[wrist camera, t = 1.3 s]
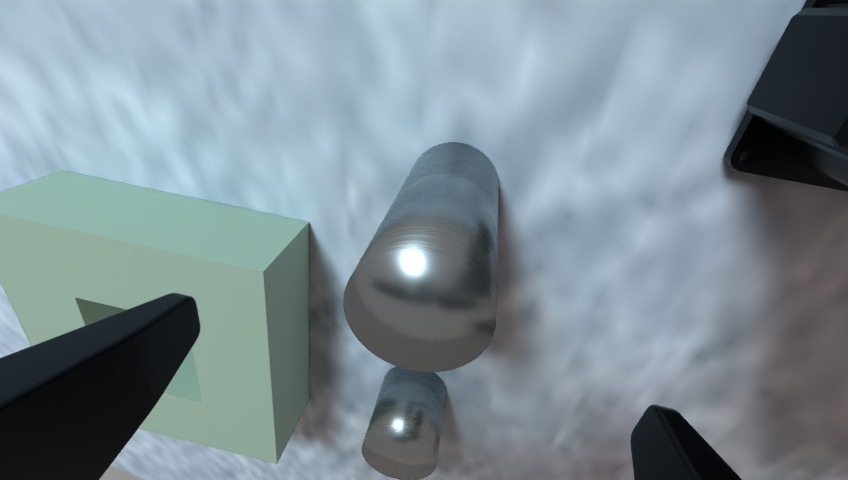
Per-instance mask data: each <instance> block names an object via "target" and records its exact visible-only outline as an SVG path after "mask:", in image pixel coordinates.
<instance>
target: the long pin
mask: <svg viewBox="0 0 848 480" xmlns="http://www.w3.org/2000/svg"><path fill="white" fill-rule="evenodd" d="M498 191H499V183H498V176H497V172H496V170H495V167H494V166H493V164H492V162H491V161H490V160H489V158H488V157H487V156H486V155H485V154H484V153H482V152H481V151H480V150H478V149H476V148H475V147H472V146H470V145H467V144H463V143H457V142H450V143H443V144H439V145H437V146H434V147H432V148H430V149H429V150H427V151H426V152H425V153H423V154H422V155H421V157H420V158H419V159H418V160H417V162H416V163H415V165H414V167H413V169H412V170H411V172H410V174H409V176H408V177H407V179H406V181H405V183H404V184H403V186H402V188H401V190H400V191H399V193H398V195H397V197H396V198H395V200H394V202H393V204H392V205H391V207H390V209H389V211H388V212H387V214H386V216H385V218H384V220H383V221H382V223H381V225H380V227H379V228H378V230H377V232H376V234H375V235H374V237H373V239H372V241H371V242H370V244H369V246H368V248H367V249H366V251H365V253H364V255H363V256H362V258H361V260H360V262H359V263H358V265H357V267H356V269H355V270H354V272H353V274H352V276H351V277H350V279H349V281H348V283H347V286H346V289H345V292H344V312H345V316H346V319H347V322H348V324H349V326H350V328H351V330H352V332H353V333H354V335H355V336H356V338H357V339H358V340H359V341H360V342H361V343H362V344H363V345H364V346H365V347H366V348H367V349H368V350H369V351H371V352H372V353H373V354H374V355H376V356H378V357H379V358H381V359H382V360H384V361H386V362H388V363H390V364H393V365H395V366H398V367H401V368H405V369H408V370H413V371H420V372H440V371H447V370H452V369H455V368H458V367H461V366H463V365H465V364H467V363H469V362H471V361H473V360H474V359H476V358H477V357H478V356H479V355H480V354H481V353H482V352H483V351H484V350H485V349H486V348H487V346H488V345H489V343H490V341H491V339H492V337H493V335H494V331H495V326H496V294H497V243H498Z"/></svg>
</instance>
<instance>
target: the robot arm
mask: <svg viewBox="0 0 848 480" xmlns="http://www.w3.org/2000/svg"><path fill="white" fill-rule="evenodd" d="M747 105H748V108H749V109H748V111H747V113H746V115H745V117H744V119H743V120H742V122H741V124H740V126H739V128H738V130H737V132H736V133H735V135H734V137H733V139H732V141H731V143H730V145H729V147H728V148H727V150H726V153H725V161H726V162H727V164H728V165H729V166H731V167H732V168H734V169H736V170H738V171H741V172H746V173H752V174H757V175H763V176H768V177H773V178H779V179H784V180H789V181H795V182H800V183H806V184H811V185H816V186H822V187H827V188H832V189H838V190H843V191H848V0H807V1H806V3H805V5H804V6H803V8H802V10H801V11H800V12H799V13H797V14H796V15H794V16H793V17H792V19H791V20H790V22H789V24H788V26H787V28H786V30H785V32H784V34H783V35H782V37H781V39H780V41H779V43H778V45H777V47H776V49H775V51H774V52H773V54H772V56H771V58H770V60H769V62H768V64H767V66H766V68H765V69H764V71H763V73H762V75H761V77H760V79H759V81H758V83H757V85H756V86H755V88H754V90H753V92H752V94H751V96H750V98H749V100H748V102H747ZM748 149H750V150H751V152H750V155H749V156H748V157H747V158H746V159H744V160H740V161H739V157H740V155H741V153H742V152H744V151H746V150H748ZM200 328H201V326H200V320H199V315H198V309H197V304H196V300H195V299H194V298H193V297H191V296H188V295H184V294H179V293H170V294H167V295H164V296H162V297H159V298H156V299H154V300H151V301H149V302H146V303H143V304H141V305H138V306H135V307H133V308H130V309H128V310H125V311H122V312H120V313H117V314H115V315H112V316H109V317H107V318H104V319H101V320H99V321H96V322H94V323H91V324H88V325H86V326H83V327H81V328H78V329H75V330H73V331H70V332H67V333H65V334H62V335H60V336H57V337H54V338H52V339H49V340H47V341H44V342H41V343H39V344H36V345H33V346H31V347H28V348H26V349H23V350H20V351H18V352H15V353H12V354H10V355H7V356H5V357H2V358H0V480H99V479H100V478H101V476H102V475H103V474H104V472H105V471H106V470H107V469H108V467H109V466H110V465H111V463H112V462H113V461H114V459H115V458H116V457H117V456H118V454H119V453H120V452H121V450H122V449H123V448H124V446H125V445H126V444H127V442H128V441H129V440H130V439H131V437H132V436H133V435H134V433H135V432H136V431H137V429H138V428H139V427H140V425H141V424H142V423H143V422H144V420H145V419H146V418H147V416H148V415H149V414H150V412H151V411H152V409H153V408H154V407H155V405H156V404H157V402H158V401H159V399H160V398H161V396H162V395H163V393H164V392H165V390H166V388H167V387H168V385H169V384H170V382H171V380H172V379H173V377H174V376H175V374H176V372H177V371H178V369H179V368H180V366H181V364H182V363H183V361H184V360H185V358H186V356H187V355H188V353H189V352H190V350H191V348H192V347H193V345H194V344H195V342H196V340H197V338H198V336H199V334H200ZM631 451H632V460H633V469H634V479H635V480H742V479H741V478H740V477H739V476H738V475H737V474H736V473H735V472H734V471H733V470H732V469H731V467H730V466H729V465H728V464H727V463H726V462H725V461H724V460H723V459H722V458H721V457H720V456H719V455H718V454H717V453H716V452H715V450H714V449H713V448H712V447H711V446H710V445H709V444H708V443H707V442H706V441H705V440H704V439H703V438H702V437H701V436H700V435H699V433H698V432H697V431H696V430H695V429H694V428H693V427H692V426H691V425H690V424H689V423H688V422H687V421H686V420H685V419H684V418H683V416H682V415H681V414H680V413H679V412H677V411H676V410H674V409H671V408H667V407H663V406H659V405H651V406H649V407H648V408H647V409H646V411H645V412H644V414H643V416H642V417H641V419H640V420H639V422H638V423H637V425H636V426H635V428H634V429H633V432H632V435H631Z"/></svg>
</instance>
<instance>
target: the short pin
mask: <svg viewBox="0 0 848 480" xmlns="http://www.w3.org/2000/svg"><path fill="white" fill-rule="evenodd" d="M446 393H447V392H446V386H445V384H444V382H443V380H442V379H441V378H440V377H439V376H438V375H437V374H436V373H434V372H420V371H413V370H408V369H405V368H401V367H398V366H397V367H395V368H393V369H391V370H390V371H389V372H388V373H387V374H386V375H385V377H384V380H383V383H382V386H381V389H380V392H379V396H378V399H377V402H376V405H375V408H374V411H373V414H372V417H371V420H370V423H369V427H368V430H367V433H366V436H365V439H364V442H363V445H362V454H363V456H364V458H365V460H366V461H367V463H368V464H369V465H370V466H371V467H373V468H374V469H375V470H377V471H378V472H380V473H382V474H384V475H386V476H389V477H392V478H396V479H401V480H417V479H422V478H425V477H427V476H428V475H430V474H431V473H432V472H433V471H434V469H435V467H436V461H437V455H438V448H439V441H440V434H441V427H442V420H443V413H444V407H445V400H446Z"/></svg>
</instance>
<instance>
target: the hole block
mask: <svg viewBox="0 0 848 480" xmlns="http://www.w3.org/2000/svg"><path fill="white" fill-rule="evenodd" d="M0 283H1V285H2V287H3V289H4V291H5V293H6V295H7V297H8V299H9V301H10V304H11V306H12V308H13V310H14V312H15V314H16V316H17V318H18V320H19V322H20V324H21V326H22V329H23V331H24V333H25V335H26V337H27V339H28V341H29V343H30V345H31V346H33V345H36V344H39V343H41V342H44V341H47V340H49V339H52V338H54V337H57V336H60V335H62V334H65V333H67V332H70V331H73V330H75V329H78V328H81V327H83V326H86V325H88V324H91V323H94V322H96V321H99V320H101V319H104V318H107V317H109V316H112V315H115V314H117V313H120V312H122V311H125V310H128V309H130V308H133V307H135V306H138V305H141V304H143V303H146V302H149V301H151V300H154V299H156V298H159V297H162V296H164V295H167V294H170V293H179V294H184V295H188V296H191V297H193V298H194V299H195V300H196V304H197V309H198V315H199V320H200V326H201V328H200V334H199V336H198V338H197V340H196V342H195V344H194V345H193V347H192V348H191V350H190V352H189V353H188V355H187V356H186V358H185V360H184V361H183V363H182V364H181V366H180V368H179V369H178V371H177V372H176V374H175V376H174V377H173V379H172V380H171V382H170V384H169V385H168V387H167V388H166V390H165V392H164V393H163V395H162V396H161V398H160V399H159V401H158V402H157V404H156V405H155V407H154V408H153V409H152V411H151V412H150V414H149V415H148V416H147V418H146V419H145V420H144V422H143V423H142V424H141V425H140V427H139V428H138V429H142V430H146V431H150V432H154V433H158V434H162V435H166V436H170V437H173V438H177V439H181V440H185V441H189V442H193V443H197V444H201V445H205V446H209V447H212V448H216V449H220V450H224V451H228V452H232V453H236V454H240V455H244V456H248V457H251V458H255V459H259V460H263V461H267V462H271V463H275V464H277V463H278V461H279V459H280V457H281V455H282V453H283V451H284V449H285V447H286V445H287V443H288V441H289V439H290V437H291V435H292V433H293V431H294V429H295V427H296V425H297V423H298V421H299V419H300V417H301V415H302V413H303V411H304V408H305V406H306V404H307V402H308V400H309V222H305V221H301V220H296V219H291V218H286V217H282V216H277V215H272V214H267V213H263V212H258V211H253V210H248V209H244V208H239V207H234V206H229V205H225V204H220V203H215V202H210V201H206V200H201V199H196V198H191V197H187V196H182V195H177V194H172V193H167V192H163V191H158V190H153V189H148V188H144V187H139V186H134V185H129V184H125V183H120V182H115V181H110V180H106V179H101V178H96V177H91V176H87V175H82V174H77V173H72V172H68V171H63V170H60V171H58V172H55V173H52V174H49V175H47V176H44V177H41V178H38V179H36V180H33V181H30V182H27V183H24V184H22V185H19V186H16V187H13V188H11V189H8V190H5V191H2V192H0Z"/></svg>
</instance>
